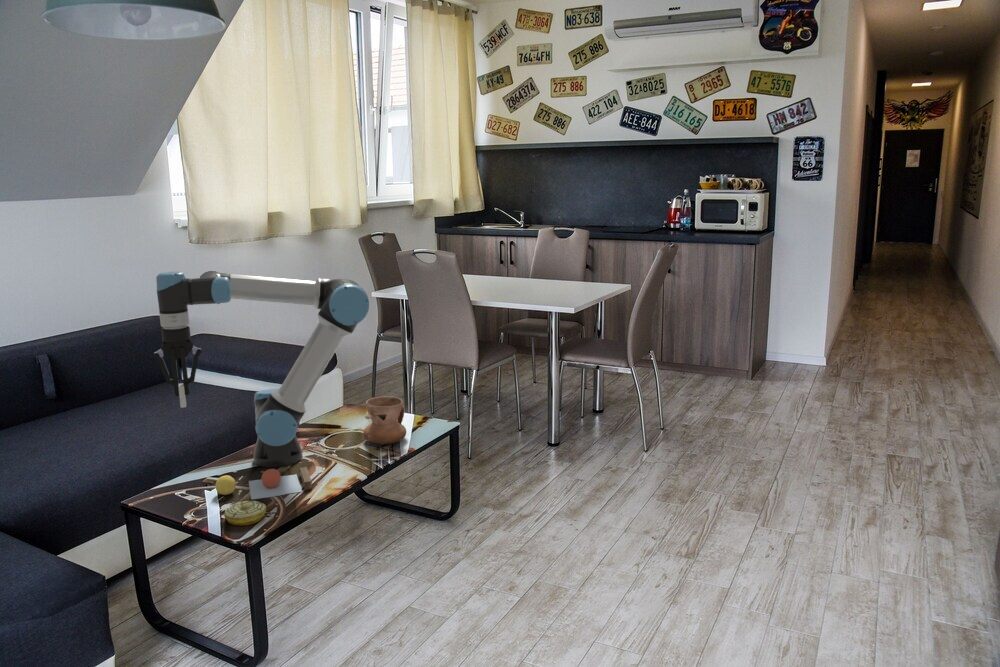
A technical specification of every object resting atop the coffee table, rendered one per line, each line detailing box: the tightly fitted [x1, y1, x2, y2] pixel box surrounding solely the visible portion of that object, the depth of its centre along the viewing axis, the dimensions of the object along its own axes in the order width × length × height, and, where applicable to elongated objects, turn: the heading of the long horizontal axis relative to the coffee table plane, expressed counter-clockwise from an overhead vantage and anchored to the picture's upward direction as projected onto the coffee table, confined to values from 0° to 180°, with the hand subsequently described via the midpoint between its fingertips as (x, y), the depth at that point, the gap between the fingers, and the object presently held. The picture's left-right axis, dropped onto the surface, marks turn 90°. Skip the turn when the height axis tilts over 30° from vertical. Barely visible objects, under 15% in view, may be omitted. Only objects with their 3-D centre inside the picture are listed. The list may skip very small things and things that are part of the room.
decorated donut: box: [224, 500, 267, 527], centre depth 211 cm, size 10×11×4 cm
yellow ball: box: [215, 474, 237, 496], centre depth 226 cm, size 6×6×6 cm
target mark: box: [248, 473, 303, 501], centre depth 232 cm, size 14×14×1 cm
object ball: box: [261, 468, 282, 488], centre depth 231 cm, size 6×6×6 cm
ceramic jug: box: [363, 395, 407, 445], centre depth 268 cm, size 18×14×14 cm
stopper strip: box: [299, 466, 313, 491], centre depth 234 cm, size 2×12×2 cm, turn 20°
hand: (183, 406), depth 229 cm, fingers closed
